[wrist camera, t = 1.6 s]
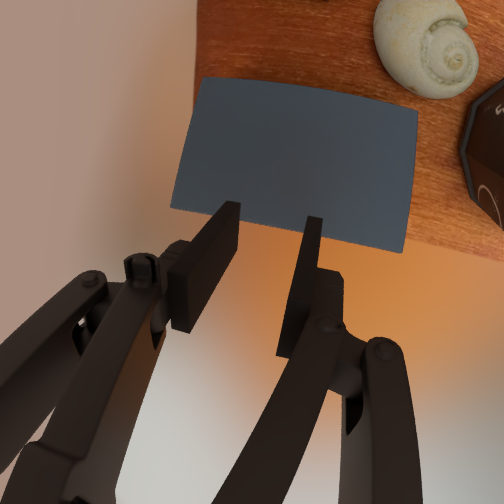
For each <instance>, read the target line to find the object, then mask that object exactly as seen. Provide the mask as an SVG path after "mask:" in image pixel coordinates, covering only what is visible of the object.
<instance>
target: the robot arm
mask: <svg viewBox="0 0 504 504" xmlns="http://www.w3.org/2000/svg"><path fill="white" fill-rule="evenodd" d="M240 209H241V203H239V202H234V201H228V200H226V201H225V202H224V204H223V205H222V206H221V207H220V208H219V209H218V210H217V212H216V213H215V214H214V215H213V216H212V217H211V219H210V220H209V221H208V222H207V223H206V224H205V226H204V227H203V228H202V229H201V230H200V232H199V233H198V234H197V235H196V236H195V237H194V239H193V240H192V241H191V242H189V241H184V240H178V241H176V242H174V243H172V244H171V245H170V246H169V247H168V248H167V249H166V250H165V252H163V253H162V254H161V255H160V257H159V258H157V257H156V256H155V255H153V254H149V253H137V254H133V255H130V256H129V257H127V258H126V259H125V260H124V267H125V273H126V281H125V282H124V283H119V282H117V283H116V282H107V278H106V276H105V274H104V273H102V272H101V271H97V270H91V271H86V272H83V273H81V274H79V275H78V276H77V277H75V278H74V279H73V280H72V281H71V282H69V283H68V284H67V285H66V286H65V287H64V288H62V289H61V290H60V291H59V292H58V293H57V294H55V295H54V296H53V297H52V298H51V299H50V300H48V301H47V302H46V303H45V304H44V305H43V306H42V307H41V308H39V309H38V310H37V311H36V312H35V313H34V314H33V315H32V316H30V317H29V318H28V319H27V320H26V321H25V322H24V323H23V324H22V325H21V326H20V327H18V328H17V330H15V331H14V332H13V333H12V334H11V335H10V336H9V337H8V338H7V339H6V340H5V341H4V342H3V343H2V344H1V345H0V474H1V473H2V472H4V470H5V469H6V468H7V467H8V466H9V465H10V463H11V462H12V461H13V460H14V458H15V457H16V455H17V454H18V453H19V452H20V450H21V449H22V448H23V449H22V451H21V452H20V455H19V457H18V459H17V461H16V464H15V466H14V469H13V471H12V473H11V476H10V478H9V481H8V483H7V486H6V488H5V491H4V494H3V496H2V499H1V502H0V504H116V497H115V488H116V484H117V480H118V477H119V474H120V470H121V467H122V463H123V461H124V457H125V454H126V451H127V448H128V445H129V441H130V438H131V435H132V432H133V429H134V426H135V423H136V420H137V417H138V414H139V411H140V408H141V405H142V402H143V399H144V396H145V393H146V390H147V387H148V384H149V382H150V379H151V376H152V373H153V370H154V367H155V365H156V362H157V359H158V356H159V353H160V351H161V348H162V345H163V342H164V340H165V337H166V324H167V323H168V321H169V320H170V318H171V327H172V329H175V330H178V331H182V332H185V333H189V334H190V332H191V330H192V329H193V327H194V325H195V323H196V321H197V320H198V318H199V316H200V314H201V313H202V311H203V309H204V307H205V306H206V304H207V302H208V300H209V298H210V297H211V295H212V293H213V291H214V290H215V288H216V286H217V284H218V283H219V281H220V279H221V277H222V276H223V274H224V272H225V270H226V269H227V267H228V265H229V263H230V262H231V260H232V258H233V256H234V255H235V253H236V251H237V246H238V233H239V221H240ZM322 223H323V218H319V217H314V216H309V215H308V216H307V221H306V225H305V229H304V234H303V238H302V243H301V247H300V251H299V255H298V260H297V263H296V268H295V272H294V276H293V280H292V284H291V288H290V292H289V296H288V300H287V305H286V310H285V315H284V319H283V324H282V329H281V333H280V338H279V343H278V347H277V352H276V356H279V357H284V358H288V359H289V361H288V363H287V365H286V367H285V369H284V371H283V373H282V375H281V377H280V379H279V381H278V383H277V385H276V387H275V389H274V391H273V394H272V395H271V397H270V399H269V401H268V403H267V405H266V407H265V409H264V411H263V413H262V415H261V417H260V419H259V421H258V422H257V424H256V426H255V428H254V430H253V432H252V433H251V435H250V437H249V439H248V441H247V443H246V445H245V447H244V448H243V450H242V452H241V454H240V456H239V457H238V459H237V461H236V463H235V464H234V466H233V468H232V470H231V471H230V473H229V475H228V476H227V478H226V480H225V482H224V483H223V485H222V487H221V488H220V490H219V492H218V493H217V495H216V497H215V498H214V500H213V502H212V503H211V504H282V503H283V501H284V498H285V496H286V494H287V492H288V490H289V487H290V485H291V483H292V481H293V478H294V476H295V474H296V471H297V469H298V467H299V464H300V462H301V459H302V457H303V455H304V452H305V450H306V447H307V445H308V442H309V440H310V437H311V434H312V432H313V429H314V426H315V424H316V421H317V418H318V416H319V413H320V410H321V407H322V404H323V402H324V399H325V396H326V393H327V390H328V389H329V390H331V391H333V392H336V393H338V394H340V395H342V429H341V432H342V433H341V463H340V483H339V499H338V500H339V501H338V504H423V498H422V481H421V469H420V458H419V449H418V440H417V433H416V425H415V417H414V411H413V404H412V399H411V393H410V386H409V381H408V376H407V370H406V365H405V360H404V356H403V352H402V350H401V348H400V347H399V345H397V343H396V342H394V341H392V340H391V339H388V338H385V337H374V338H372V339H370V340H369V341H368V342H365V341H362V340H360V339H358V338H356V337H354V336H353V335H352V334H350V333H349V332H348V331H347V330H346V326H345V324H344V322H343V295H344V290H343V288H344V279H343V278H342V276H341V274H340V273H339V272H338V271H333V270H328V269H323V268H318V267H317V262H318V256H319V247H320V240H321V232H322ZM82 318H83V319H84V323H83V324H81V325H80V326H79V324H78V322H79V321H80V320H81V319H82ZM54 408H55V409H54ZM53 409H54V411H53V414H52V416H51V418H50V420H49V422H48V424H47V427H46V429H45V431H44V433H43V435H42V437H41V438H40V439H39V440H38V441H34V442H29V443H27V441H28V440H29V439H30V438H31V436H32V435H33V434H34V433H35V431H36V430H37V429H38V428H39V426H40V425H41V424H42V423H43V421H44V420H45V419H46V417H47V416H48V415H49V414H50V412H51V411H52V410H53ZM26 443H27V444H26ZM25 444H26V445H25ZM24 445H25V446H24Z"/></svg>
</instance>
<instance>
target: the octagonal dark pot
mask: <svg viewBox="0 0 504 504" xmlns="http://www.w3.org/2000/svg"><path fill="white" fill-rule="evenodd" d="M458 150H459V153H460V157H461V161H462V165H463V169H464V174H465V178H466V183H467V187H468V192H469V196H470V198H471V199H472V200H473V201H474V202H475V203H476V204H477V205H478V206H479V207H480V208H482V209H483V210H484V211H485V212H486V213H487V214H488V215H489V216H490V217H491V218H492V219H493V220H494V221H495V222H496V224H497V225H498V226H499V227H500V228H501V229H502V230H503V231H504V78H503V79H502V80H500V81H499V82H498V83H496V84H495V85H494V86H493V87H491V88H490V89H489V90H487V91H486V92H485V93H484V94H482V95H481V96H480V97H478V98H477V99H476V100H474V101H473V102H472V103H471V104H470V108H469V112H468V116H467V120H466V124H465V128H464V131H463V135H462V138H461V142H460V145H459V148H458Z"/></svg>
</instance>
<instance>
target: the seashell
mask: <svg viewBox="0 0 504 504" xmlns="http://www.w3.org/2000/svg"><path fill="white" fill-rule="evenodd" d="M467 26H468V22H467V18H466V17H465V15H464V12H463V10H462V8H461V7H460V6H459V5H458V4H457V2H456V1H454V0H381V1H380V3H379V4H378V6H377V9H376V12H375V16H374V21H373V33H374V40H375V45H376V48H377V52H378V54H379V57H380V59H381V61H382V64H383V66H384V67H385V69H386V70H387V72H388V73H389V74H390V75H391V76H392V78H393V79H394V80H395V81H397V82H398V83H399V84H400V85H402V86H403V87H404V88H406V89H407V90H409V91H411V92H413V93H415V94H417V95H419V96H422V97H425V98H430V99H447V98H451V97H454V96H456V95H458V94H460V93H462V92H463V91H465V90H466V89H467V88H468V87H469V86H470V85H471V84H472V82H473V81H474V79H475V77H476V75H477V71H478V66H479V58H478V53H477V51H476V48H475V46H474V43H473V42H472V40H471V38H470V37H469V36H468V34H467V33H466V32H465V31H463V29H464V28H465V27H467Z"/></svg>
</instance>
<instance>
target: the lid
mask: <svg viewBox="0 0 504 504" xmlns="http://www.w3.org/2000/svg"><path fill="white" fill-rule="evenodd" d="M417 125H418V111H416V110H413V109H409V108H406V107H402V106H399V105H395V104H391V103H387V102H383V101H379V100H375V99H370V98H366V97H362V96H357V95H352V94H347V93H342V92H337V91H332V90H326V89H320V88H314V87H308V86H301V85H294V84H286V83H278V82H269V81H260V80H249V79H236V78H219V77H203V79H202V82H201V86H200V89H199V93H198V96H197V100H196V103H195V107H194V110H193V114H192V117H191V121H190V125H189V129H188V132H187V136H186V140H185V144H184V148H183V152H182V156H181V160H180V164H179V169H178V173H177V177H176V181H175V186H174V191H173V195H172V200H171V204H170V207H171V208H174V209H179V210H185V211H190V212H196V213H202V214H207V215H214V214H215V213H216V212H217V210H218V209H219V208H220V207H221V206H222V205H223V204H224V202H225V201H226V200H228V201H234V202H239V203H241V209H240V221H245V222H250V223H255V224H260V225H266V226H271V227H276V228H281V229H287V230H291V231H296V232H301V233H304V229H305V225H306V221H307V216H308V215H309V216H314V217H319V218H323V223H322V232H321V237H325V238H331V239H335V240H340V241H345V242H349V243H354V244H359V245H364V246H368V247H373V248H378V249H382V250H386V251H391V252H395V253H402V251H403V246H404V241H405V235H406V229H407V223H408V216H409V209H410V202H411V194H412V186H413V176H414V166H415V155H416V142H417Z"/></svg>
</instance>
